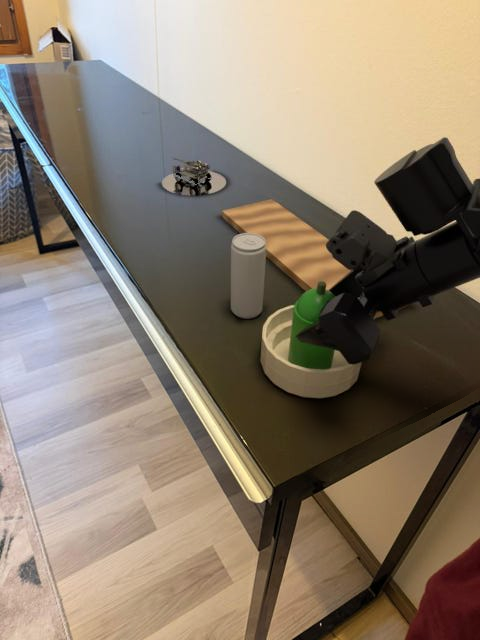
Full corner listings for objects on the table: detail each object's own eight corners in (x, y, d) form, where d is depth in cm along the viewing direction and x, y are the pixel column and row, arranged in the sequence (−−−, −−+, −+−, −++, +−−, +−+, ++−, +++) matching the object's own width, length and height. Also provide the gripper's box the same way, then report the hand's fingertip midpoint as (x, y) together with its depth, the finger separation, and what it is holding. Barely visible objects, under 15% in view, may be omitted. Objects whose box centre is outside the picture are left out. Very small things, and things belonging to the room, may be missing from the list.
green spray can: (336, 352, 62) (352, 276, 54) (325, 381, 57) (340, 303, 50) (295, 341, 63) (305, 265, 55) (281, 368, 59) (290, 290, 51)
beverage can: (241, 297, 72) (242, 229, 64) (268, 307, 70) (272, 238, 62) (224, 313, 69) (224, 243, 61) (252, 324, 67) (255, 253, 59)
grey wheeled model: (193, 165, 115) (192, 143, 111) (239, 180, 108) (239, 158, 104) (148, 183, 106) (145, 159, 102) (195, 201, 99) (194, 177, 95)
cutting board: (408, 305, 71) (411, 298, 70) (348, 329, 66) (350, 321, 65) (271, 205, 98) (271, 198, 97) (221, 217, 93) (221, 210, 92)
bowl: (367, 346, 63) (375, 318, 60) (346, 414, 54) (353, 385, 51) (279, 322, 67) (282, 294, 64) (245, 381, 58) (246, 352, 55)
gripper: (408, 166, 50) (303, 232, 61) (357, 240, 37) (236, 306, 48) (460, 248, 52) (350, 297, 63) (429, 344, 39) (298, 384, 50)
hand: (313, 316), depth 56 cm, fingers open, 9 cm apart
